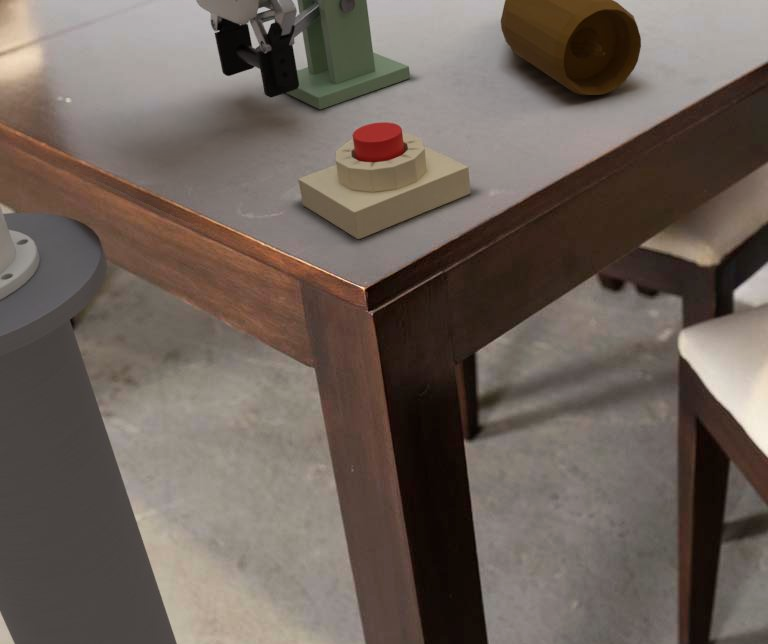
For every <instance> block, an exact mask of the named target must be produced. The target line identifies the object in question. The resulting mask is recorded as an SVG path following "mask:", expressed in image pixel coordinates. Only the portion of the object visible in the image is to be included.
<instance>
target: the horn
mask: <svg viewBox="0 0 768 644" xmlns="http://www.w3.org/2000/svg"><path fill="white" fill-rule="evenodd" d="M500 28H501V32H502V35H503V37H504V40H505V42H506V44H507V45H508V46H509V47H510V48H511V50H512V52H513V53H515V54H516V55H518V56H519V57H520V58H522V59H523V60H524V61H526V62H527V63H529V64H530V65H532V66H533V67H535V68H537V70H539V71H541V72H542V73H544V74H545V75H546V76H548V77H550V78H551V79H553V80H554V81H556V82H557V83H559V84H560V85H562V86H563V87H564V88H566V89H568V90H569V91H571V92H572V93H573V94H576V95H579V96H600V95H604V94H608V93H610V92H611V91H613V90H615V89H617V88H618V87H620V86H621V85H622V84H623V83H625V82H626V81H627V79H628V78H629V77H630V75H631V74H632V72H633V71H634V69H635V68H636V66H637V64H638V61H639V57H640V54H641V48H642V38H641V35H640V31H639V26H638V23H637V21H636V19H635V16H634V15H633V14H632V13H631V12H629V11H628V10H627V9H626V8H624V6H622V5H621V4H620V3H619V2H617V1H615V0H504V3H503V9H502V14H501V17H500Z"/></svg>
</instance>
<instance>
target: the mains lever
mask: <svg viewBox="0 0 768 644" xmlns="http://www.w3.org/2000/svg"><path fill="white" fill-rule="evenodd" d="M311 1H312V3H313V4H312V5H310V6H309V7H308V8H306V9H305V10H304V11H303V12H301V13H300V14H299V13H298V14H297V15H296V17H295V22H294V26H295V30H294V33H293V36H294V39H295V38H296V37H297V36H299V35H300V34H301V33H303V32H302V31H303V30H305V29H306V28H307V27H309V26H310V25H311V24H312V23H314V22H315V21H316V20H317V19H319V18H320V17H321V16H320V9H319V3H318V0H311ZM259 51H262V50H261V48H260V45H259V44H258V46H256V47H253V46H252V47H250V46H248V45H246V44H242V45H240V46H239V47H238V48H237V51H236V54H237V57H238V58H239V59H240V60H242V61H244V62H246V63H248V64H250V65H253V66H255V67H254V68H257V69H258V70H260V65H259V60H258V55H257V52H259Z"/></svg>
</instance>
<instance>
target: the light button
mask: <svg viewBox="0 0 768 644" xmlns="http://www.w3.org/2000/svg"><path fill="white" fill-rule="evenodd" d="M402 133H403V129H402V127H401V126H400V124H397V123H394V122H387V121H386V122H385V121H384V122H383V121H382V122H373V123H369V124H365V125H362V126H360V127H358V128H357V129H355V130H354V131H353V133H352V140H353V142H354V149H355V156H356V159H357V160H358V161H362V162H373V163H374V162H382V161H388V160H391V159H394V158H396V157H399V156H402V155H403V153H404V143H403V135H402Z"/></svg>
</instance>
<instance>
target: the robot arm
mask: <svg viewBox="0 0 768 644" xmlns="http://www.w3.org/2000/svg"><path fill="white" fill-rule="evenodd" d="M195 1H196V3H197V5H198V6H199V7H200V8H201V9H203V10H205V11H207V12H209V13H210V26H211V28H212V30H213V31H214V38H215V43H216V47H217V52H218V56H219V62H220V66H221V71H222V74H223V75H224V76H227V77H230V76H234V75H237V74H240V73H243V72H246V71H249V70H252V69H254V68H256V67H255V66H253V65H250V64H248V63H246V62H244V61H242V60H240V59H239V58H238V57H237V54H236V51H237V48H238V47H239V46H240V45H242V44H246V45H248V46H250V47H253V44H252V39H251V33H250V27H249V24H250V26H251V28H252V31H253V33H254V36H255V38H256V41H257V43H258V46H259V45H260V48H261V50H262V51H259V52H257V55H258V60H259V65H260V69H259V71H260V77H261V81H262V88H263V93H264V95H265V96H266V97H268V98H275V97H278V96H280V95H283V94H287V93H286V92H289V91H292V90H295V89H297V88H298V87H299V80H298V74H297V71H298V69H297V63H296V58H295V52H294V45H295V38H294V36H293V33H294V30H295V26H294V22H295V17H296V16H297V7H296V4H295V3H294V1H293V0H195ZM261 8H262V9H263V8H265V9H268V10H265V11H261V12H258V11H259V9H261ZM273 20H274V22H272V23H270V26H269V28H268V30H266V28H265V26H264V23H266V22H270V21H273ZM267 31H268V32H267ZM3 214H4V213H3V210H2V206H0V300H2V299H4V298H5V297H7V296H9V295H10V294H12V293H14V292H15V291H17V290H18V289H19V288H20V287H22V286H23V285H24V284H25V283H26V282H27V281H28V280H29V279H30V278H31V277H32V276H33V275H34V273H35V271H36V270H37V268H38V266H39V262H40V257H39V253H38V250H37V247H36V245H35V242H34V241H33V240H32V239H31V238H30V237H29V236H27V235H25V234H22V233H20V232H17V231H12V230H8V227H7V224H6V221H5V218H4V215H3Z"/></svg>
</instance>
